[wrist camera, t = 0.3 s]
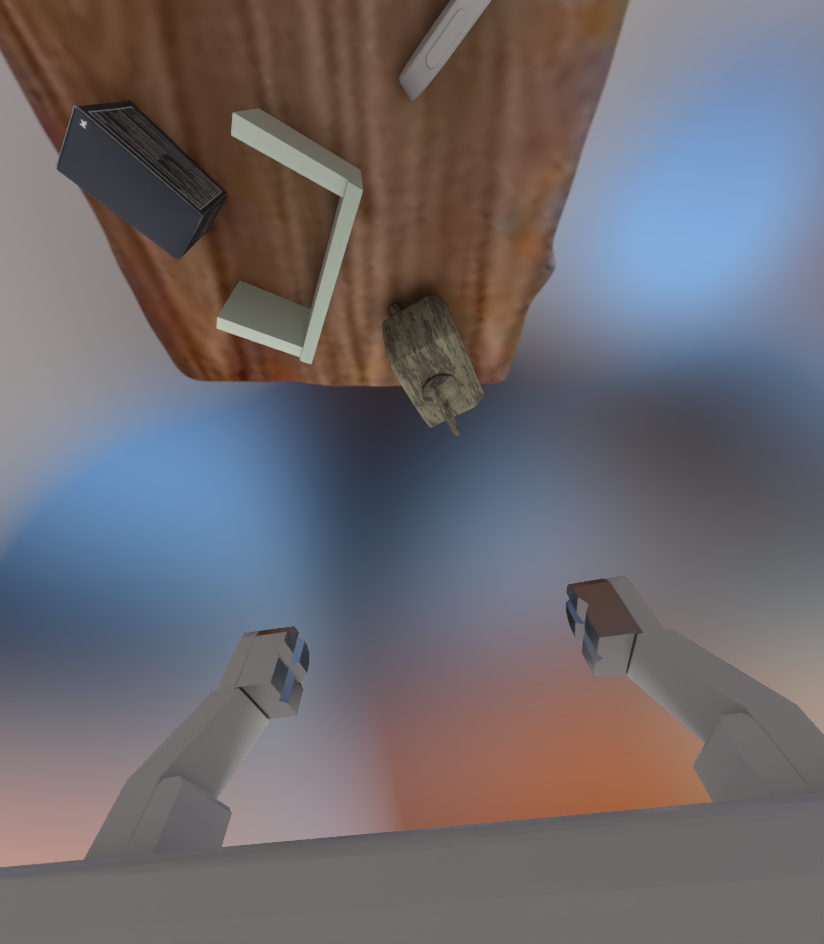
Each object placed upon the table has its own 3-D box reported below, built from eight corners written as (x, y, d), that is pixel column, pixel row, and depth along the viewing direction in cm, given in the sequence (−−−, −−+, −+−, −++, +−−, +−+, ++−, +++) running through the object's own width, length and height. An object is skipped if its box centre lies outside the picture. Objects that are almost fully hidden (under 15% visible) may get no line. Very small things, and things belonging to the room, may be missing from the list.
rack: (259, 108, 36) (230, 112, 27) (360, 170, 40) (363, 190, 32) (238, 290, 49) (214, 331, 40) (317, 321, 53) (311, 364, 45)
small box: (105, 155, 37) (49, 169, 30) (127, 96, 34) (70, 97, 27) (204, 237, 44) (176, 264, 37) (229, 194, 41) (204, 214, 34)
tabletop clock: (378, 301, 52) (390, 397, 36) (430, 270, 50) (469, 357, 33) (419, 372, 62) (442, 472, 46) (464, 349, 60) (506, 445, 43)
